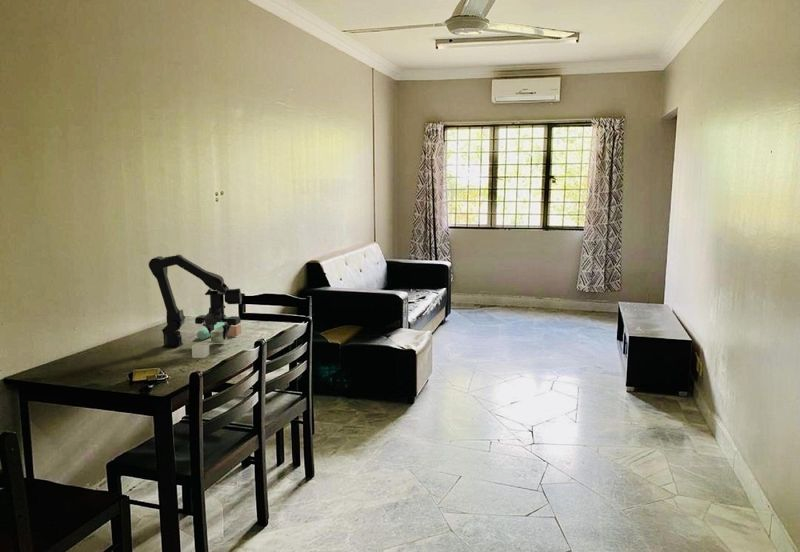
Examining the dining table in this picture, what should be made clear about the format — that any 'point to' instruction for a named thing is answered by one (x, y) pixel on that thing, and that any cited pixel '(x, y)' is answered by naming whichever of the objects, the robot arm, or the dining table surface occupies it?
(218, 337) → the sage block
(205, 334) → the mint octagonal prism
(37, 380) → the dining table surface
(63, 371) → the dining table surface
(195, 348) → the off white block
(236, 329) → the terracotta block
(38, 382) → the dining table surface
